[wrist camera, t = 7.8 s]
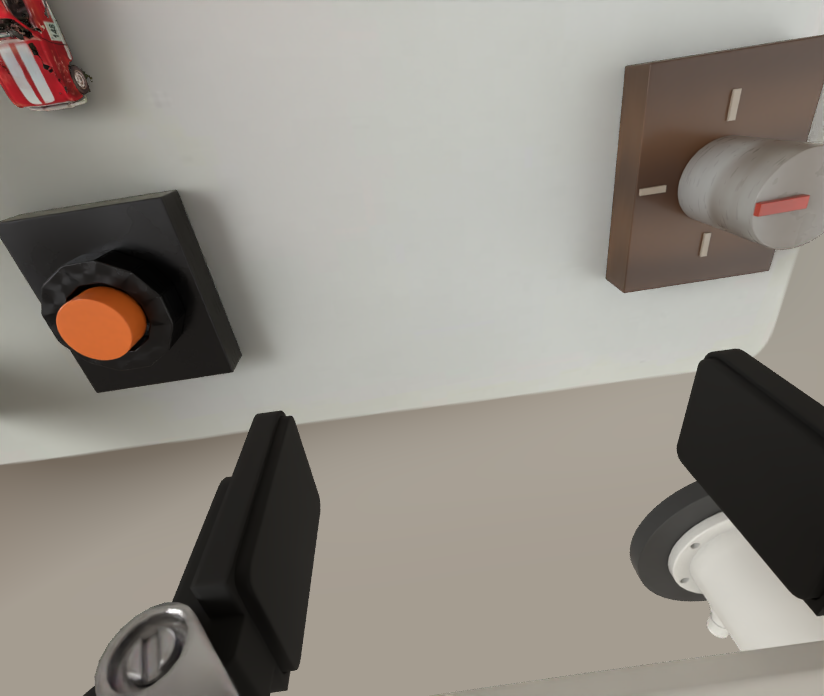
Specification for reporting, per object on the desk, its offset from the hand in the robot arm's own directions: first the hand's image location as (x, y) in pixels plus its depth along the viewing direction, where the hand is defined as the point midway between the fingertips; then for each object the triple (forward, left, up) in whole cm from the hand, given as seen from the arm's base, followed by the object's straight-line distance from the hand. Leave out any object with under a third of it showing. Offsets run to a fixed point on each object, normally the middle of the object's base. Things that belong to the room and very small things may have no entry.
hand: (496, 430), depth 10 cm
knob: (+1, -16, -16) cm, 23 cm away
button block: (-1, +18, -19) cm, 26 cm away
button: (-1, +18, -15) cm, 23 cm away
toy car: (+13, +17, -19) cm, 29 cm away
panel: (+1, -16, -19) cm, 25 cm away
